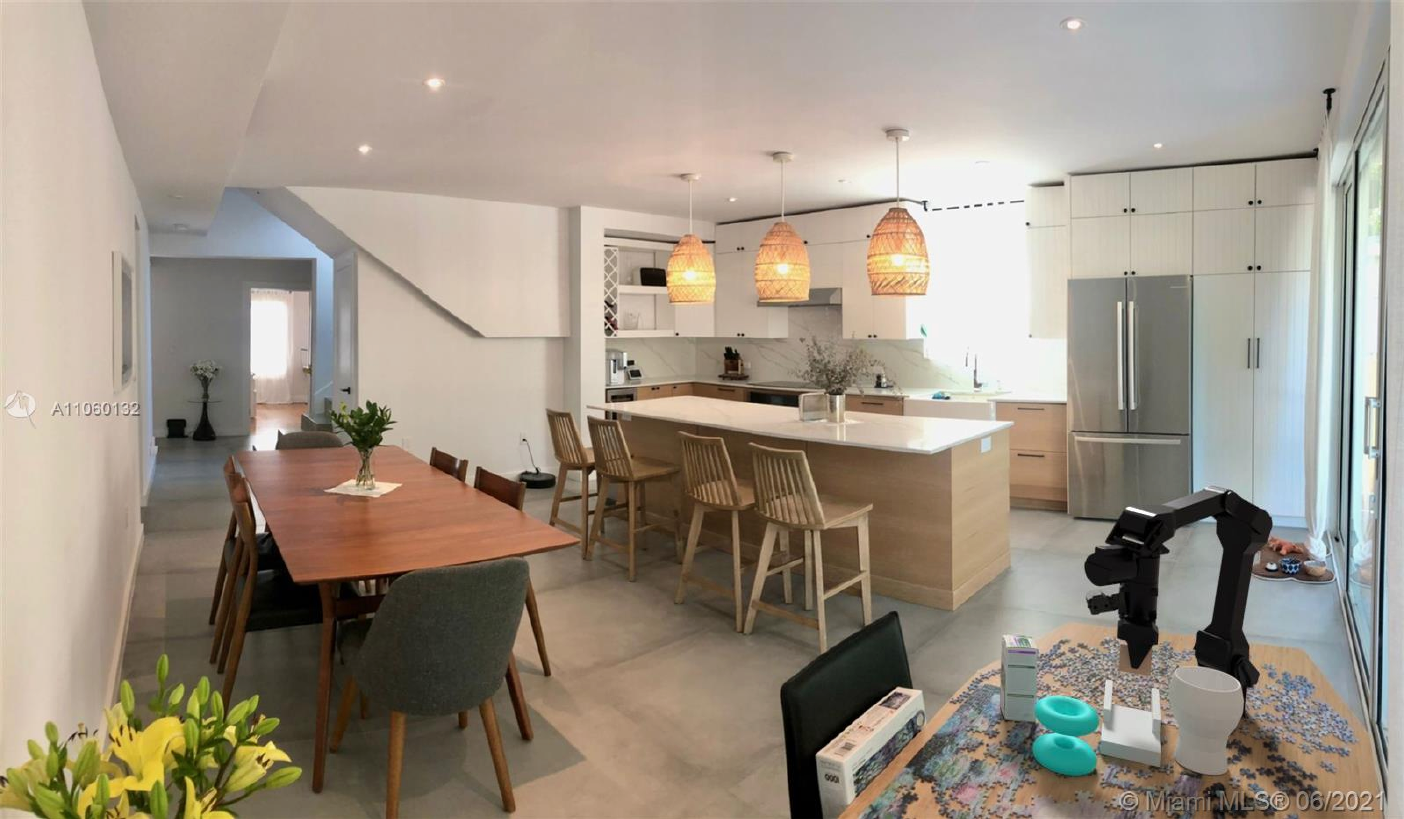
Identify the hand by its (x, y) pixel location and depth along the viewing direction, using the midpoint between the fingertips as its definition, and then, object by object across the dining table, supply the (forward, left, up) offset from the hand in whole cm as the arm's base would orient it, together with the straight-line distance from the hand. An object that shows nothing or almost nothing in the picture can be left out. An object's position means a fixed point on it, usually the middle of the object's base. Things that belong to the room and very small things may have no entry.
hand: (1134, 662), depth 146 cm
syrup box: (+19, +3, -13) cm, 23 cm away
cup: (-11, +6, -13) cm, 18 cm away
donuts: (+10, +17, -13) cm, 24 cm away
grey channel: (0, +1, -13) cm, 13 cm away
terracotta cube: (0, 0, -1) cm, 1 cm away
